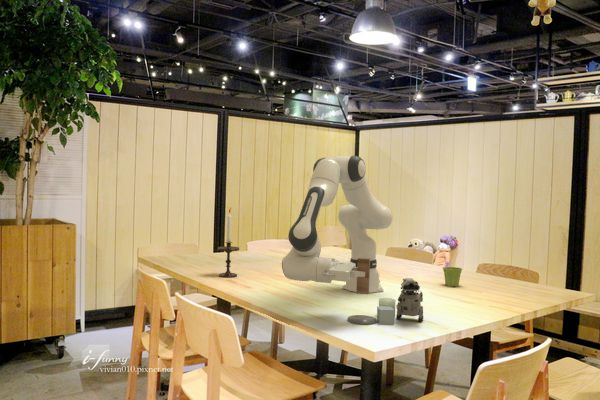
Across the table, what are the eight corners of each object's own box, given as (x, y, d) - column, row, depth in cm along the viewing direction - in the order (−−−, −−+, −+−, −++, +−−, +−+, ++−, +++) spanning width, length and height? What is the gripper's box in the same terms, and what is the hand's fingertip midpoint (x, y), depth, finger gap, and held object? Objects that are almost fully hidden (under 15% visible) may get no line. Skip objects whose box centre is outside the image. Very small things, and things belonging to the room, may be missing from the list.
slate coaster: (349, 316, 183) (349, 314, 183) (377, 318, 181) (377, 316, 180) (345, 323, 173) (346, 321, 173) (375, 325, 171) (375, 323, 171)
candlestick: (242, 277, 255) (244, 207, 254) (222, 278, 249) (224, 207, 248) (232, 273, 264) (234, 206, 263) (213, 275, 258) (215, 206, 257)
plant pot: (438, 285, 247) (438, 267, 247) (447, 283, 254) (448, 266, 253) (456, 288, 240) (457, 270, 240) (465, 286, 247) (465, 268, 247)
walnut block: (357, 291, 179) (358, 257, 179) (368, 292, 178) (370, 258, 178) (356, 293, 175) (357, 258, 175) (367, 294, 174) (369, 259, 174)
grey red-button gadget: (392, 323, 175) (394, 280, 174) (399, 316, 185) (400, 275, 185) (419, 327, 171) (420, 282, 171) (424, 319, 182) (426, 277, 181)
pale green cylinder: (378, 313, 188) (379, 297, 188) (395, 314, 187) (395, 298, 187) (377, 317, 182) (378, 300, 182) (394, 318, 181) (395, 302, 181)
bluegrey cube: (376, 320, 178) (377, 306, 178) (390, 320, 179) (391, 306, 178) (379, 324, 173) (380, 309, 173) (394, 324, 174) (394, 310, 173)
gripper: (321, 265, 169) (363, 268, 166) (331, 257, 189) (368, 259, 186) (321, 284, 169) (362, 287, 166) (330, 274, 189) (368, 277, 186)
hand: (366, 272), depth 176 cm, fingers closed on walnut block, 4 cm apart
